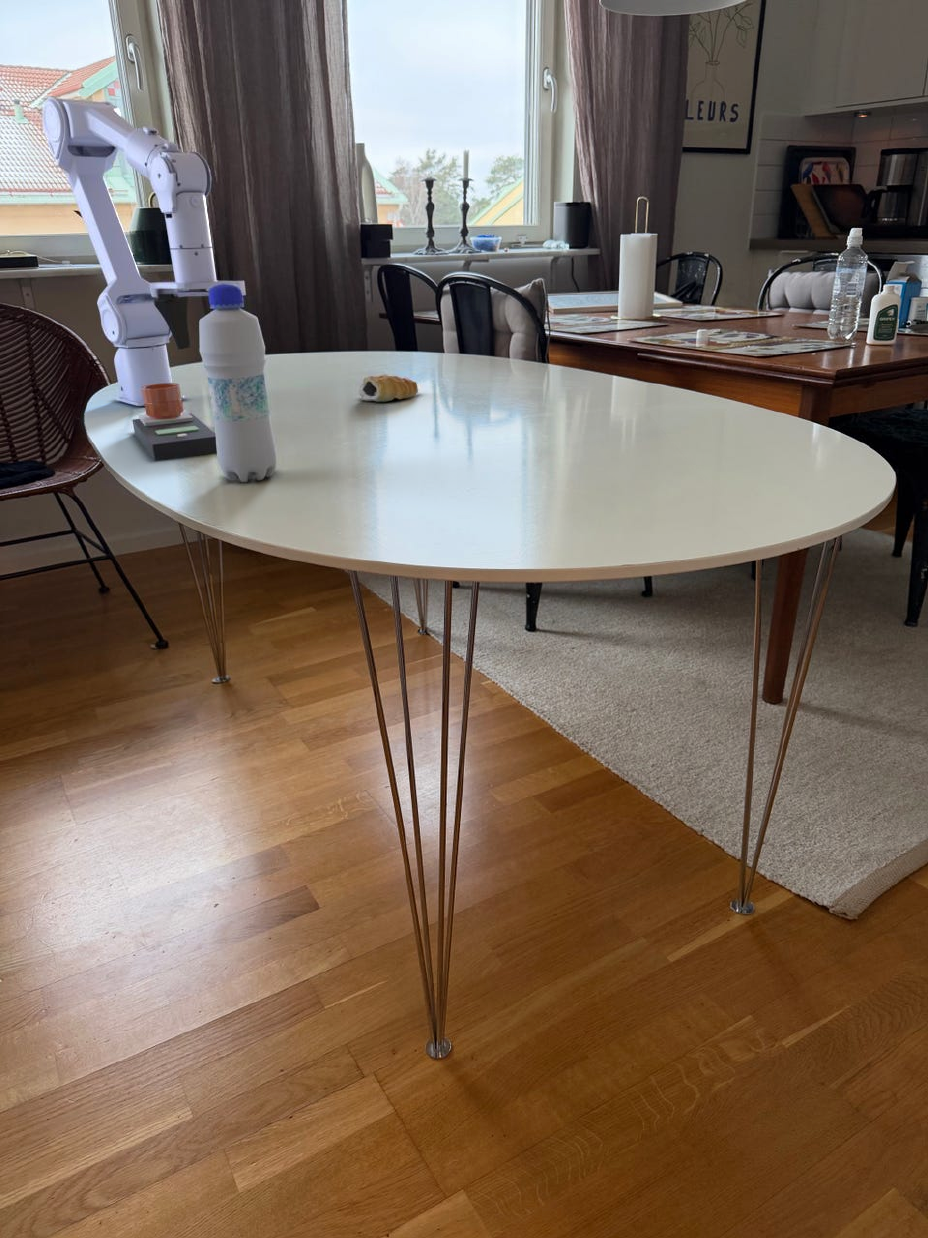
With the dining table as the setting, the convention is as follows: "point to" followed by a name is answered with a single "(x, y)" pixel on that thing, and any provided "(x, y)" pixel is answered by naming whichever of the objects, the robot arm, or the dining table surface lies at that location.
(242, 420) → the bottle
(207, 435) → the scale
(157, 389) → the copper ridged cylinder
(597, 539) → the dining table surface
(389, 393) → the pastry
